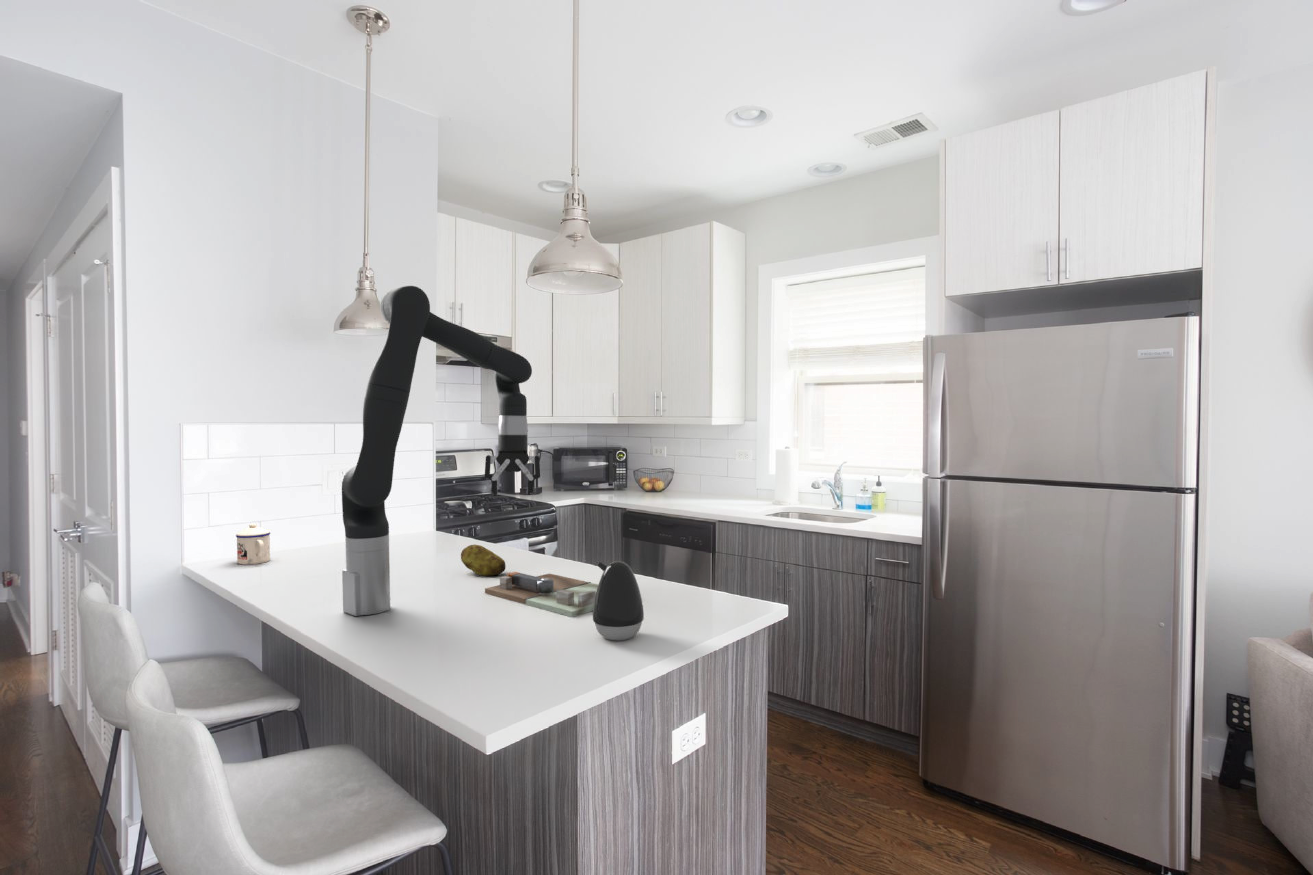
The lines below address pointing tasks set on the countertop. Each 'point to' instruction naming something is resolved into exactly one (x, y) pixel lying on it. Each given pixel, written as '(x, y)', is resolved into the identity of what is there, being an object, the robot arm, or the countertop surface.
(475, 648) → the countertop surface
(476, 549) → the potato
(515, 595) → the board
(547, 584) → the arm
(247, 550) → the teacup with lid
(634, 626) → the pump dispenser
